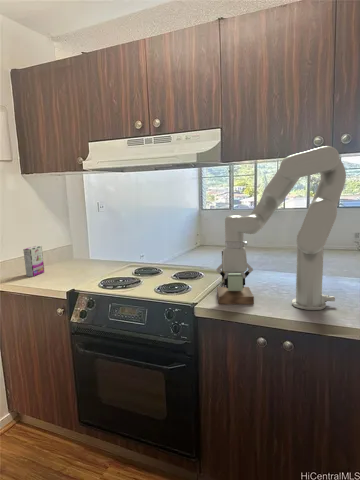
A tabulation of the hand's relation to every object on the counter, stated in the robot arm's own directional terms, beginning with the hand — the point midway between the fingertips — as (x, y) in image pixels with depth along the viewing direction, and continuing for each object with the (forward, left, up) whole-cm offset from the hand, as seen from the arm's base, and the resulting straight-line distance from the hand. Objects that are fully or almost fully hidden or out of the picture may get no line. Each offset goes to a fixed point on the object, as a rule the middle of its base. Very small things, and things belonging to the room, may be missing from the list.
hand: (234, 286), depth 139 cm
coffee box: (-1, -23, -6) cm, 24 cm away
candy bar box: (+112, -48, -6) cm, 122 cm away
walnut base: (0, 0, -5) cm, 5 cm away
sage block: (0, 0, -1) cm, 1 cm away
